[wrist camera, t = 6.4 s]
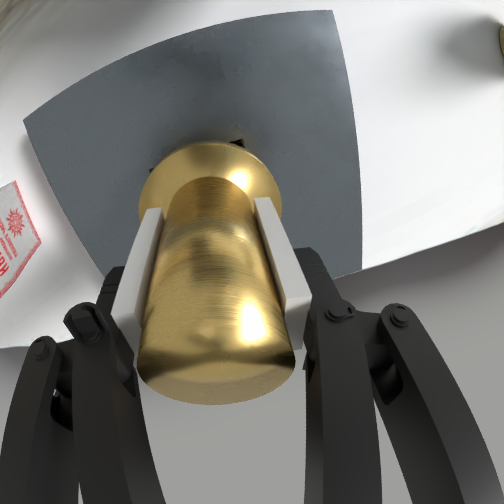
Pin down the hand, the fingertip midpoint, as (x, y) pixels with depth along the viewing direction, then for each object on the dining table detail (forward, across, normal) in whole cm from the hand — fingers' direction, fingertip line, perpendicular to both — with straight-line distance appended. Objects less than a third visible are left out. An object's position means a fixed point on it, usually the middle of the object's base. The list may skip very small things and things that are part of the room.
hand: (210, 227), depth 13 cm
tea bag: (+8, -20, -1) cm, 21 cm away
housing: (+8, 0, 0) cm, 8 cm away
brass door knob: (+6, 0, 0) cm, 6 cm away
